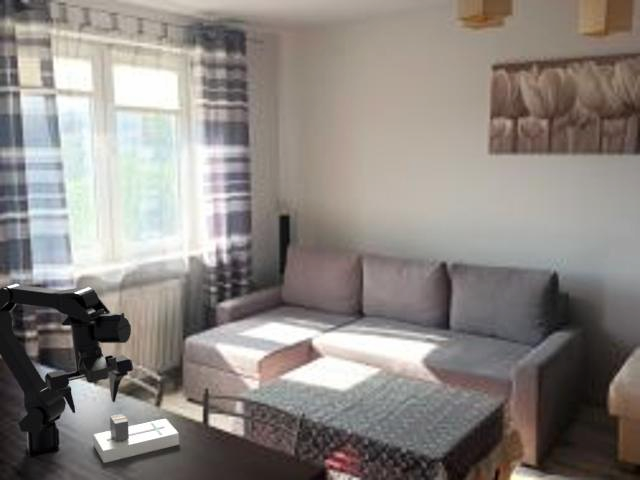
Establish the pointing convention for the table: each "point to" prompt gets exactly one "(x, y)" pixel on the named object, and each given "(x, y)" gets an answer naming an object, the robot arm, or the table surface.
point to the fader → (119, 427)
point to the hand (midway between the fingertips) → (94, 407)
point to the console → (137, 440)
